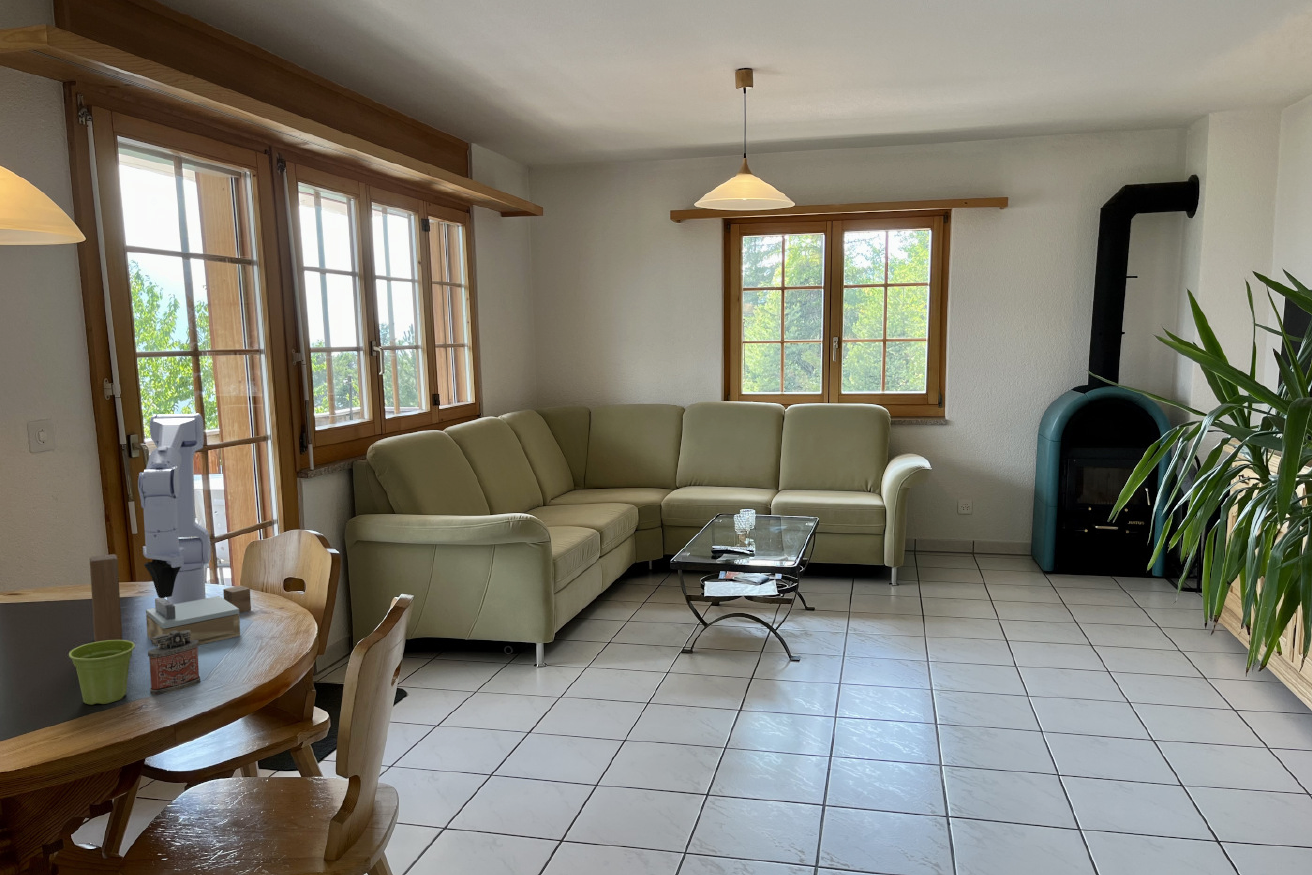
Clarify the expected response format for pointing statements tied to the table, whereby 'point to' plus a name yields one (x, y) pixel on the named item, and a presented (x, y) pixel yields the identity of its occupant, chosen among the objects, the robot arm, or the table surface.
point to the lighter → (173, 663)
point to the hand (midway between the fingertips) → (165, 596)
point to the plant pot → (103, 669)
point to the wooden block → (105, 598)
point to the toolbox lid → (189, 611)
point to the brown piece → (201, 629)
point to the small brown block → (238, 597)
